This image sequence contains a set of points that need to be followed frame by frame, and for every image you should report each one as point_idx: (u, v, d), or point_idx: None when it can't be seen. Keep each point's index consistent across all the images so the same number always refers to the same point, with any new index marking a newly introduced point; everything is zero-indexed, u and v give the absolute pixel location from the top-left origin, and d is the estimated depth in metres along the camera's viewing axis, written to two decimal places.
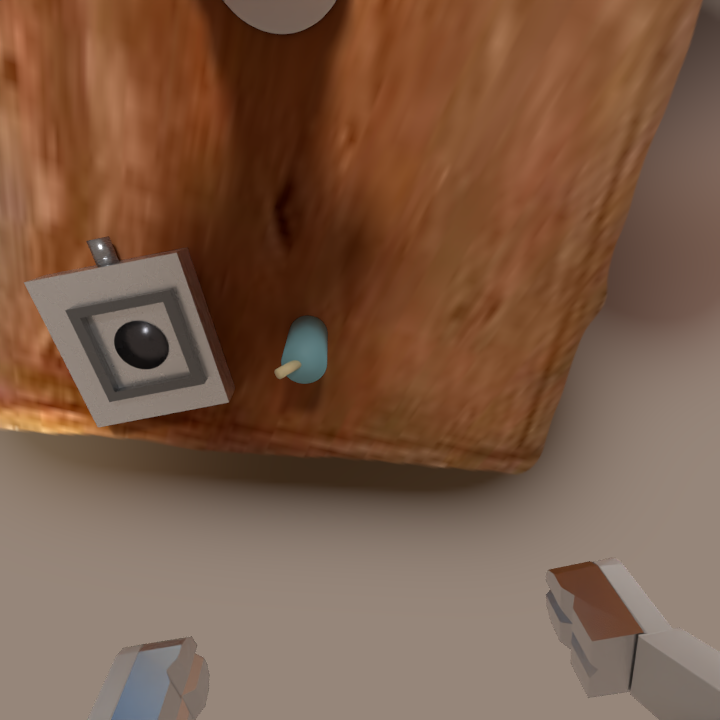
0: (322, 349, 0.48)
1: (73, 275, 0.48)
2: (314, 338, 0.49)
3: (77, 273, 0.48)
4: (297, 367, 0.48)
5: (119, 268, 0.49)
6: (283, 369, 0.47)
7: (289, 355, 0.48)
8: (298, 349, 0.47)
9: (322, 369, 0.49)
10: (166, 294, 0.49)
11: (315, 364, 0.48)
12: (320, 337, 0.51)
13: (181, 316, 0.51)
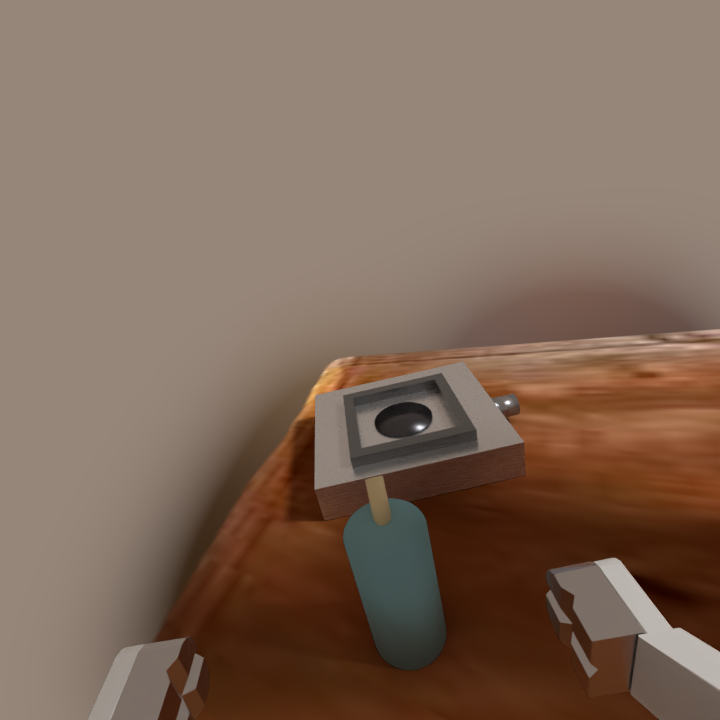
0: (410, 563, 0.24)
1: (476, 382, 0.50)
2: (428, 566, 0.25)
3: (478, 384, 0.50)
4: (378, 516, 0.26)
5: (490, 405, 0.45)
6: (381, 485, 0.27)
7: (400, 508, 0.27)
8: (412, 520, 0.26)
9: (369, 559, 0.24)
10: (470, 427, 0.41)
11: (381, 547, 0.25)
12: (423, 593, 0.25)
13: (442, 442, 0.41)
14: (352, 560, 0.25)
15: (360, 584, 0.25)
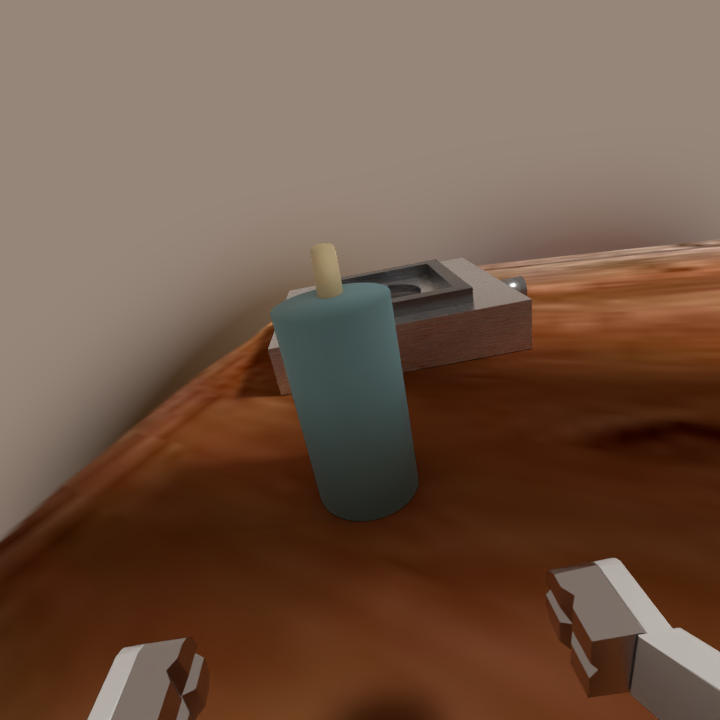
0: (359, 323, 0.16)
1: (476, 267, 0.43)
2: (389, 348, 0.17)
3: (478, 268, 0.42)
4: (324, 288, 0.19)
5: (492, 280, 0.38)
6: (331, 254, 0.19)
7: (357, 287, 0.19)
8: (370, 291, 0.18)
9: (299, 319, 0.16)
10: (465, 286, 0.33)
11: (321, 310, 0.17)
12: (381, 388, 0.17)
13: (429, 303, 0.33)
14: (278, 327, 0.17)
15: (291, 373, 0.18)
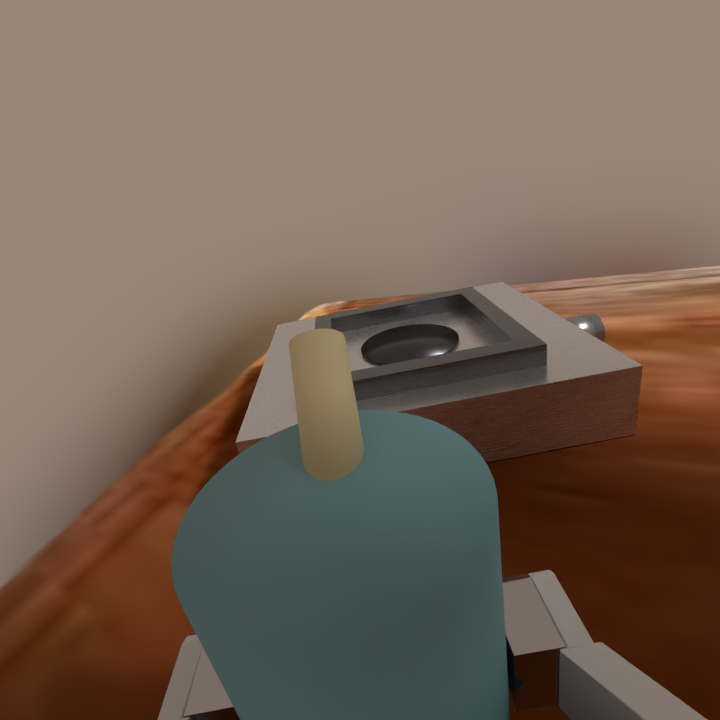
0: (431, 644, 0.05)
1: (527, 299, 0.31)
2: (496, 646, 0.06)
3: (532, 300, 0.31)
4: (318, 449, 0.08)
5: (560, 322, 0.27)
6: (336, 355, 0.08)
7: (397, 433, 0.08)
8: (436, 465, 0.07)
9: (241, 614, 0.05)
10: (534, 342, 0.22)
11: (309, 559, 0.06)
12: None
13: (481, 367, 0.22)
14: None
15: (230, 699, 0.07)
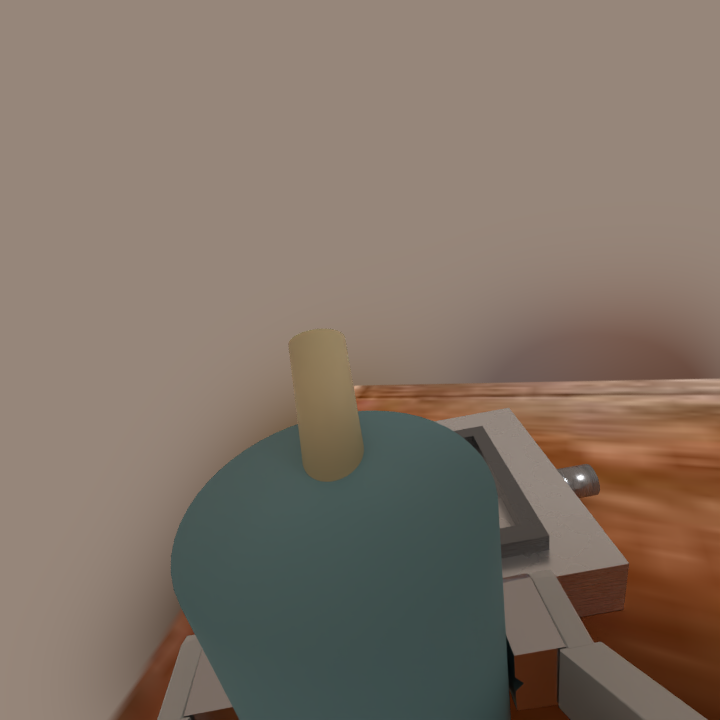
0: (431, 645, 0.05)
1: (532, 442, 0.36)
2: (496, 646, 0.06)
3: (535, 445, 0.35)
4: (318, 449, 0.08)
5: (560, 485, 0.31)
6: (336, 355, 0.08)
7: (397, 433, 0.08)
8: (436, 466, 0.07)
9: (241, 616, 0.05)
10: (538, 530, 0.26)
11: (309, 560, 0.06)
12: None
13: None
14: None
15: (230, 701, 0.07)
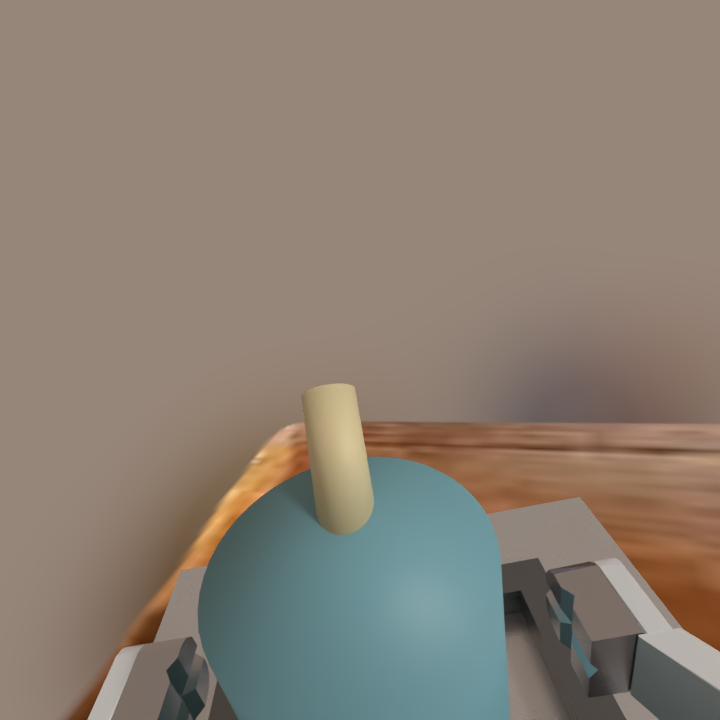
0: (440, 707, 0.05)
1: (657, 606, 0.15)
2: (499, 695, 0.07)
3: (671, 620, 0.15)
4: (331, 503, 0.08)
5: None
6: (347, 409, 0.09)
7: (405, 483, 0.09)
8: (443, 521, 0.08)
9: (266, 677, 0.06)
10: None
11: (326, 618, 0.06)
12: None
13: None
14: None
15: None
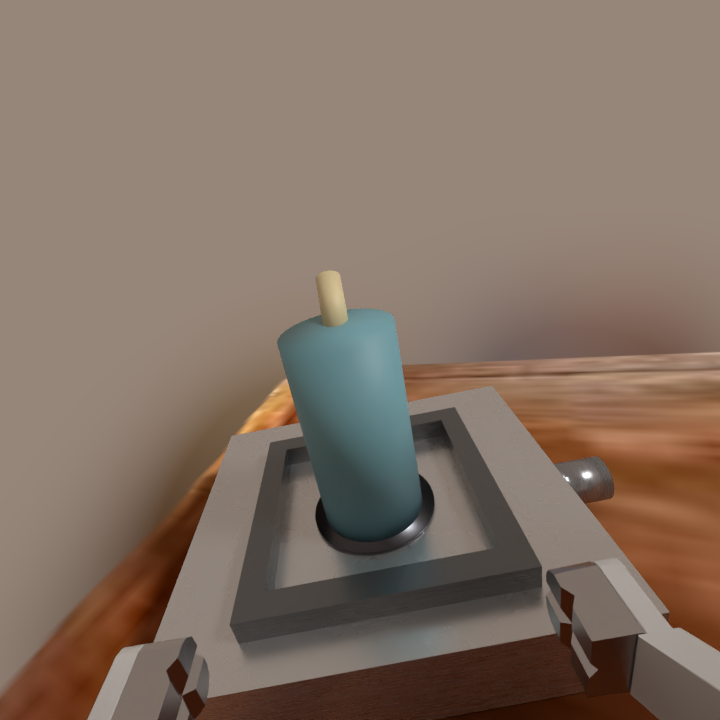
0: (365, 354, 0.16)
1: (520, 427, 0.26)
2: (393, 376, 0.18)
3: (525, 432, 0.26)
4: (329, 316, 0.19)
5: (559, 485, 0.21)
6: (336, 281, 0.20)
7: (362, 313, 0.20)
8: (375, 319, 0.19)
9: (306, 350, 0.17)
10: (525, 557, 0.17)
11: (327, 340, 0.17)
12: (386, 415, 0.18)
13: (456, 593, 0.17)
14: (285, 357, 0.17)
15: (298, 401, 0.18)
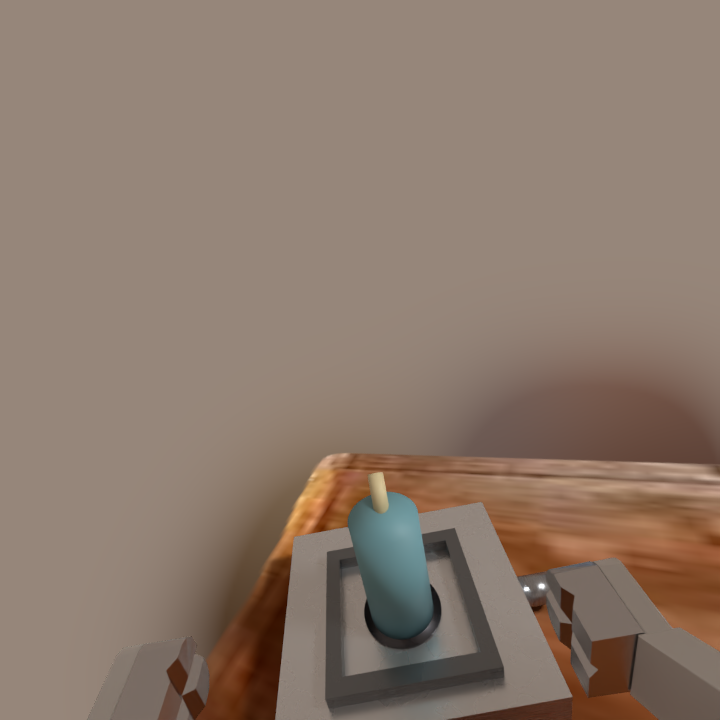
0: (402, 544, 0.29)
1: (499, 546, 0.39)
2: (417, 549, 0.30)
3: (502, 550, 0.38)
4: (378, 505, 0.31)
5: (520, 600, 0.34)
6: (381, 480, 0.32)
7: (397, 500, 0.32)
8: (406, 510, 0.31)
9: (368, 540, 0.29)
10: (495, 660, 0.29)
11: (379, 530, 0.30)
12: (413, 572, 0.30)
13: (454, 681, 0.29)
14: (354, 540, 0.30)
15: (360, 561, 0.30)
